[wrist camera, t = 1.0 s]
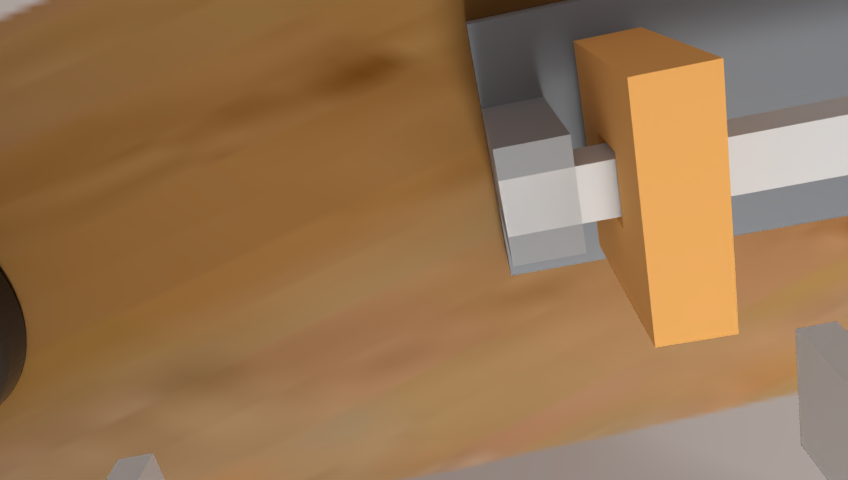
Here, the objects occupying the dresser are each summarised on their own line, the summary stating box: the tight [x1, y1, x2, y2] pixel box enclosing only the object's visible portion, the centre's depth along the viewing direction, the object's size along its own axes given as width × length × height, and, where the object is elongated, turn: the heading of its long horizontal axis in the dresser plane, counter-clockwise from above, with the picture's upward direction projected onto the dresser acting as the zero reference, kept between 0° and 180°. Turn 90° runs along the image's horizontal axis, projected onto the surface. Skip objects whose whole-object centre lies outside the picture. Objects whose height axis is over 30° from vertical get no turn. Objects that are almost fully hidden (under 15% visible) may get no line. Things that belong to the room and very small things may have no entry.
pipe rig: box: [466, 0, 848, 276], centre depth 32 cm, size 28×13×9 cm, turn 102°
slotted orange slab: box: [573, 27, 739, 348], centre depth 29 cm, size 3×10×10 cm, turn 12°
